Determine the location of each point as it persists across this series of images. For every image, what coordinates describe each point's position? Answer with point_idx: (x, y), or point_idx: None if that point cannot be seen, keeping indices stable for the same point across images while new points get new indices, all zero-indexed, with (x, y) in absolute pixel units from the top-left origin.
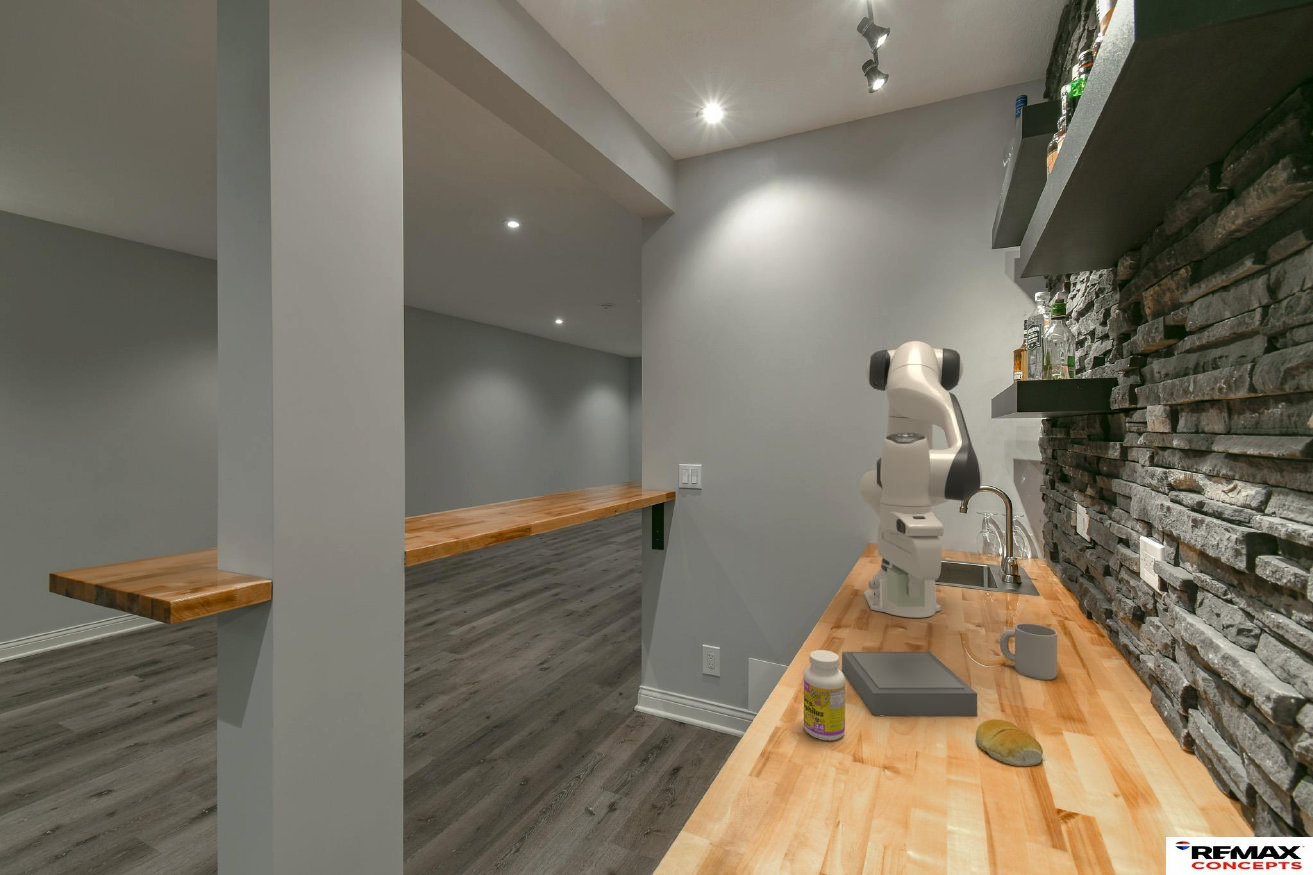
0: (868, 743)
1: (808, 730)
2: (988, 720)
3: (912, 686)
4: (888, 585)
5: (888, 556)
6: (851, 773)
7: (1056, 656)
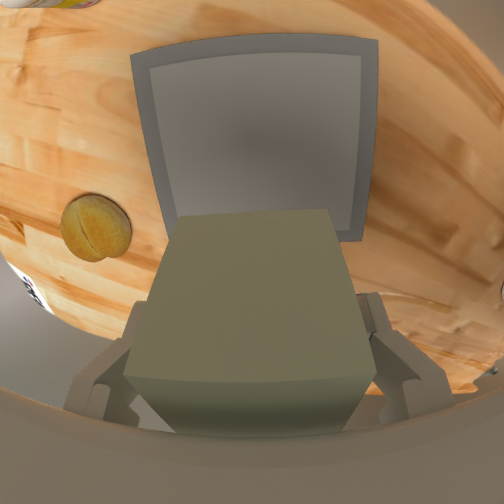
0: (65, 43)
1: None
2: (105, 229)
3: (167, 142)
4: (321, 263)
5: (431, 459)
6: (10, 31)
7: None
